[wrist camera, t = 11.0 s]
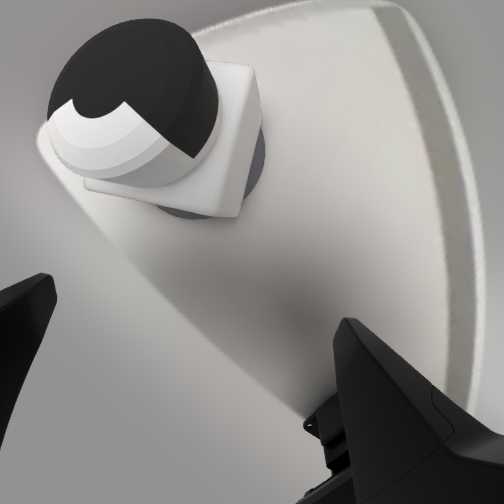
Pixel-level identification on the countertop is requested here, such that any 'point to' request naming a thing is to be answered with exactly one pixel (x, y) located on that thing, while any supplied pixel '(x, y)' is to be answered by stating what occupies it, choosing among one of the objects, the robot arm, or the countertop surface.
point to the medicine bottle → (156, 119)
